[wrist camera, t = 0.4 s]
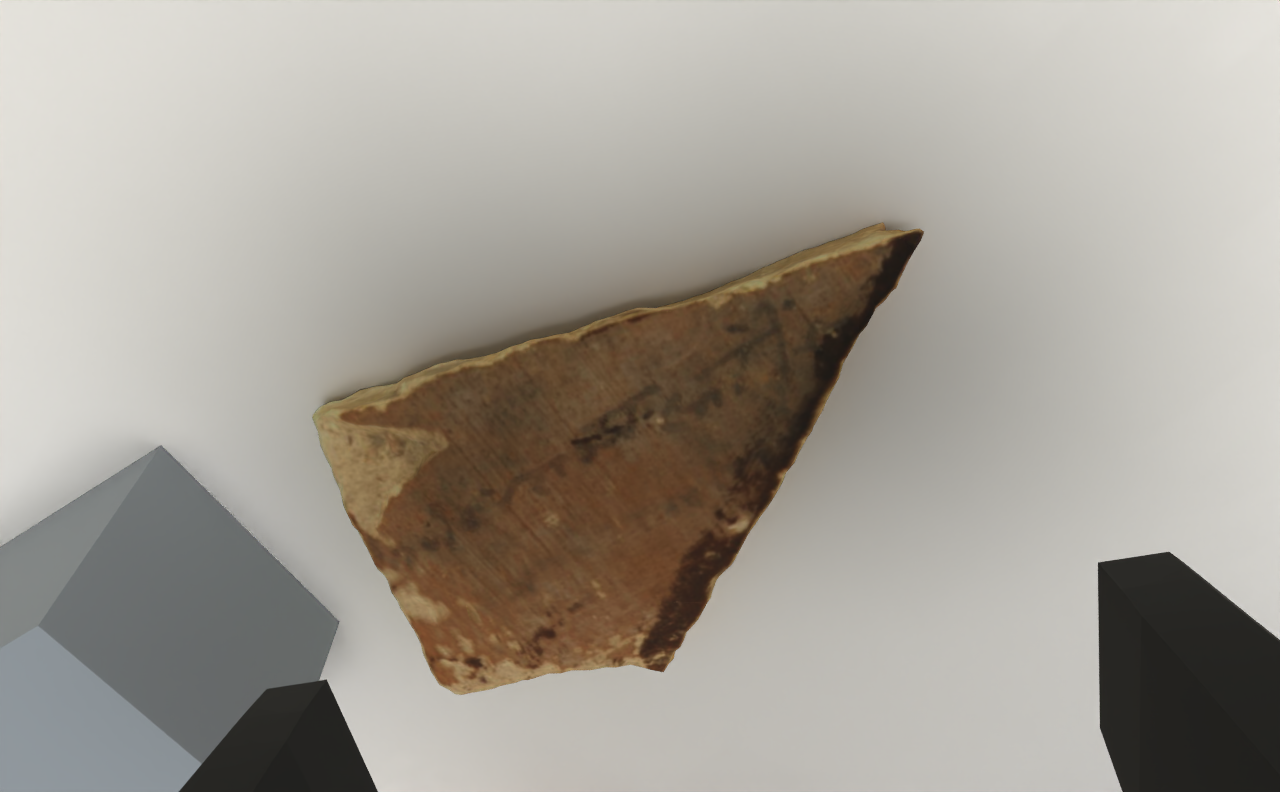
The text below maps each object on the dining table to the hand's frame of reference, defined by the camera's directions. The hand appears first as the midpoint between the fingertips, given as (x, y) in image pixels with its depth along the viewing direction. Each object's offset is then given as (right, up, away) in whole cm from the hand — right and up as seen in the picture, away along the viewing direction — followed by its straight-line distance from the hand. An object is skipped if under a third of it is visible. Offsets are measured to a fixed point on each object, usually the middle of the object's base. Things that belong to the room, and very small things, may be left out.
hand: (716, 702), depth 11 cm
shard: (-2, +3, +11) cm, 11 cm away
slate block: (-10, -1, +12) cm, 16 cm away
